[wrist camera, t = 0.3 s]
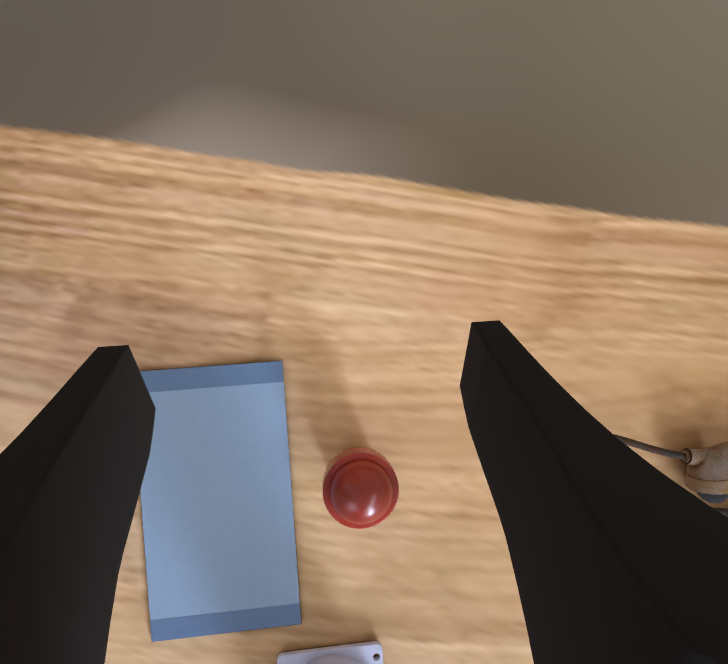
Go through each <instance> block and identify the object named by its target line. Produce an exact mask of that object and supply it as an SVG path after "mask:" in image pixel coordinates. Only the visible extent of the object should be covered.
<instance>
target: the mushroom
mask: <svg viewBox="0 0 728 664" xmlns="http://www.w3.org/2000/svg"><path fill="white" fill-rule="evenodd" d="M398 493H399V486H398V480H397V477H396V474H395V472H394V470H393V468H392V466H391V465H390V463H389V462H388V461H387V459H386V458H385V457H384V456H382V455H381V454H380V453H378V452H376V451H374V450H372V449H368V448H352V449H349V450H346V451H344V452H342V453H340V454H339V455H337V456H336V457H335V458H334V459H333V460H332V461H331V462H330V464H329V465H328V467H327V469H326V471H325V473H324V477H323V499H324V503H325V505H326V508H327V510H328V511H329V513H330V514H331V516H332V517H333V518H334V519H335V520H337V521H338V522H339V523H341V524H343V525H345V526H348V527H351V528H358V529H361V528H369V527H372V526H375V525H377V524H379V523H380V522H382V521H383V520H385V519H386V518H387V517H388V516H389V515H390V513H391V512H392V511H393V509H394V507H395V505H396V502H397V499H398Z"/></svg>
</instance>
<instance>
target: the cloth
mask: <svg viewBox="0 0 728 664" xmlns="http://www.w3.org/2000/svg"><path fill="white" fill-rule="evenodd" d="M140 373H141V375H142V378H143V380H144V382H145V385H146V387H147V389H148V392H149V394H150V396H151V399H152V401H153V403H154V405H155V408H156V411H155V420H154V428H153V436H152V443H151V450H150V455H149V459H148V463H147V467H146V471H145V474H144V478H143V482H142V486H141V490H140V492H141V506H142V519H143V532H144V545H145V558H146V571H147V585H148V598H149V611H150V625H151V639H152V642H154V641H162V640H171V639H179V638H187V637H196V636H204V635H213V634H221V633H229V632H238V631H246V630H255V629H263V628H272V627H280V626H288V625H297V624H301V612H300V598H299V585H298V571H297V557H296V543H295V529H294V516H293V502H292V488H291V474H290V460H289V447H288V433H287V419H286V405H285V391H284V378H283V364H282V361H270V362H257V363H243V364H230V365H217V366H203V367H190V368H177V369H164V370H150V371H140Z"/></svg>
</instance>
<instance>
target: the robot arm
mask: <svg viewBox="0 0 728 664" xmlns="http://www.w3.org/2000/svg"><path fill="white" fill-rule="evenodd" d="M460 389H461V394H462V399H463V404H464V409H465V413H466V418H467V422H468V427H469V430H470V433H471V436H472V439H473V442H474V445H475V448H476V451H477V453H478V456H479V459H480V462H481V465H482V468H483V471H484V474H485V477H486V479H487V482H488V485H489V488H490V491H491V494H492V497H493V499H494V502H495V505H496V508H497V511H498V514H499V517H500V520H501V523H502V526H503V530H504V533H505V536H506V540H507V544H508V548H509V552H510V557H511V561H512V565H513V569H514V573H515V577H516V581H517V586H518V590H519V595H520V599H521V604H522V608H523V613H524V617H525V622H526V626H527V631H528V636H529V641H530V646H531V651H532V656H533V661H534V664H728V517H726V516H725V515H723V514H721V513H720V512H718V511H717V510H715V509H714V508H712V507H711V506H709V505H707V504H706V503H705V502H703V501H702V500H700V499H699V498H697V497H696V496H694V495H693V494H691V493H690V492H689V491H687V490H686V489H684V488H683V487H681V486H680V485H678V484H677V483H675V482H674V481H673V480H671V479H670V478H668V477H667V476H666V475H664V474H663V473H662V472H660V471H659V470H657V469H656V468H655V467H653V466H652V465H651V464H649V463H648V462H647V461H646V460H644V459H643V458H642V457H641V456H639V455H638V454H637V453H635V452H634V451H633V450H632V449H630V448H629V447H628V446H627V445H625V444H624V443H623V442H622V441H620V440H619V439H618V438H617V437H616V436H614V435H613V434H612V433H611V432H610V431H609V430H607V429H606V428H605V427H604V426H603V425H602V424H601V423H600V422H598V421H597V420H596V419H595V418H594V417H593V416H592V415H591V414H590V413H588V412H587V411H586V410H585V409H584V408H583V407H582V406H581V405H580V404H579V403H578V402H577V401H576V400H575V399H574V398H573V397H572V396H571V395H570V394H569V393H568V392H567V391H566V390H565V389H564V388H563V387H562V386H561V385H560V384H559V383H558V382H557V381H556V380H555V379H554V378H553V377H552V376H551V375H550V374H549V373H548V372H547V371H546V370H545V369H544V368H543V367H542V366H541V365H540V364H539V363H538V362H537V361H536V359H535V358H534V357H533V356H532V355H531V354H530V353H529V352H528V351H527V350H526V349H525V348H524V347H523V345H522V344H521V343H520V342H519V341H518V340H517V339H516V338H515V337H514V336H513V334H512V333H511V332H510V331H509V330H508V329H507V328H506V327H505V326H504V325H503V324H502V323H501V322H500V321H484V322H472V323H471V328H470V334H469V339H468V345H467V350H466V355H465V361H464V366H463V372H462V377H461V382H460ZM155 411H156V408H155V405H154V403H153V401H152V399H151V396H150V394H149V392H148V389H147V387H146V385H145V382H144V380H143V378H142V375H141V373H140V371H139V368H138V366H137V364H136V362H135V359H134V357H133V355H132V352H131V350H130V348H129V345H123V346H107V347H98V348H97V349H96V350H95V351H94V352H93V353H92V354H91V355H90V357H89V358H88V359H87V360H86V361H85V362H84V363H83V364H82V366H81V367H80V368H79V369H78V370H77V371H76V372H75V373H74V375H73V376H72V377H71V378H70V379H69V380H68V381H67V383H66V384H65V385H64V386H63V387H62V388H61V389H60V391H59V392H58V393H57V394H56V395H55V396H54V397H53V398H52V400H51V401H50V402H49V403H48V404H47V405H46V406H45V407H44V408H43V410H42V411H41V412H40V413H39V414H38V415H37V416H36V417H35V418H34V419H33V420H32V422H31V423H30V424H29V425H28V426H27V427H26V428H25V429H24V430H23V431H22V432H21V434H20V435H19V436H18V437H17V438H16V439H15V440H14V441H13V442H12V443H11V444H10V445H9V446H8V447H7V448H6V449H5V450H4V451H3V452H2V453H1V454H0V664H104V663H105V656H106V649H107V642H108V635H109V628H110V621H111V615H112V609H113V603H114V597H115V591H116V584H117V578H118V573H119V569H120V565H121V560H122V556H123V552H124V548H125V544H126V541H127V537H128V533H129V530H130V526H131V522H132V519H133V515H134V511H135V508H136V504H137V500H138V497H139V493H140V490H141V486H142V482H143V478H144V474H145V471H146V467H147V463H148V459H149V455H150V450H151V443H152V436H153V428H154V420H155ZM376 653H378V654H379V655H378V656H377V657H374V656H373V655H374V654H376ZM277 664H383V651H382V645H381V643H380V642H378V641H371V642H363V643H355V644H347V645H338V646H330V647H322V648H314V649H306V650H298V651H290V652H283V653H280V654H279V655H278V657H277Z"/></svg>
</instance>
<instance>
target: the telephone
mask: <svg viewBox="0 0 728 664" xmlns="http://www.w3.org/2000/svg"><path fill="white" fill-rule="evenodd" d="M613 435H614V434H613ZM614 436H616V437H617V438H618V439H619V440H620V441H622V442H623V443H624V444H626V445H629V446H633V447H636V448H639V449H642V450H646V451H649V452H652V453H656V454H660V455H664V456H668V457H673V458H678V459H681V461H682V462H683V463H684V464H687V470H686V472H685V484H686V486H687V487H688V488H689V489H691V490H693V491H696V492H697V494H698V495H699V496H700V497H701V498H702V499H704V500H705V501H707V502H710V503H721V502H724V501H725V500H726V499H727V498H728V442H725V443H721V444H717V445H714V446H711V447H706V448H700V449H690V448H684V449H683V450H682V451H681V452H676V451H671V450H667V449H663V448H659V447H655V446H652V445H648V444H645V443H642V442H639V441H635V440H632V439H629V438H626V437H622V436H618V435H614ZM714 509H715V510H717V511H718V512H720V513H721V514H723V515H726V516H728V509H720V508H714Z"/></svg>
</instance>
